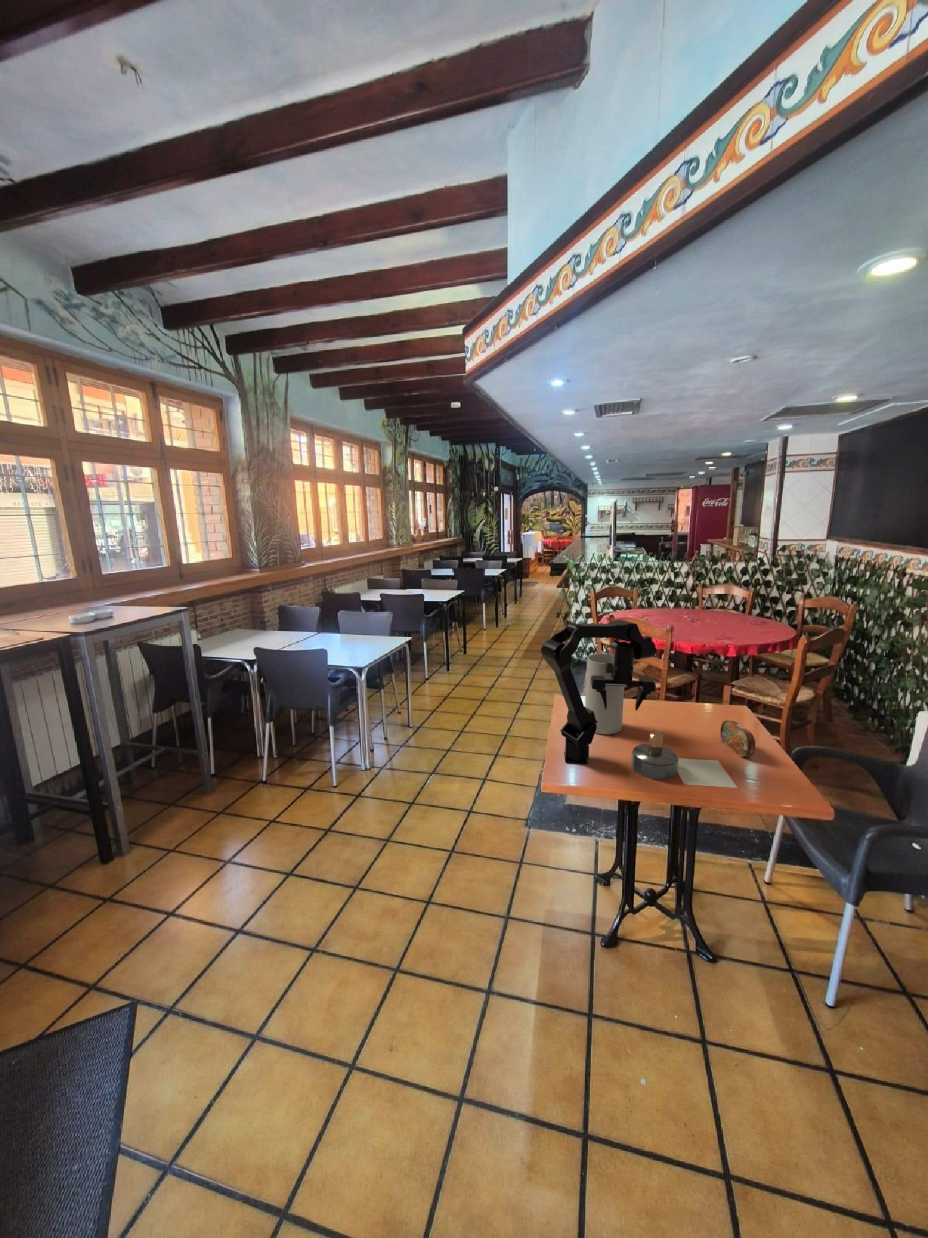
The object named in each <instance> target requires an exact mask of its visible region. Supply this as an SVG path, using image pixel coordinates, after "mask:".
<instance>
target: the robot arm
mask: <svg viewBox="0 0 928 1238" xmlns="http://www.w3.org/2000/svg"><path fill="white" fill-rule="evenodd" d="M639 628H640V627H639V626H638V624H637V623H634V622H632V621H627V620H624V619H616V620H612V621H610V622H607V623H576V622H570V623H568V624H567V625H566V626H565V627H564V628H563V629H560V631H557V632H556V633H554V634H553V635H551V636H550V638H549V639H548V640H546V641H545V642H544V643H543V644H542V647H541V648H540V652H541V655H542V657H543V659H544V661H545V662H546V664H547V665H548V666H549V667H550V668H551V670H553V672H554V675H555V677H556V680H557V682H558V683H557V684H558V685H559V688H560V691H561V694H562V696H563V699H564V702H565V705H566V708H567V714H566V719H567V720H566V722H565V724H564V725H563V726H562V727H561V729H560V733H561V736H562V737H564V738H565V743H564V745H565V746H564V752H563V753H564V754H563V755H564V762H565V764H566V763H567V764H579V765H581V764H583V765H588V760H589V759H590V758H589V757H590V756H589V755H590V745H592V743H593V740H594V738H595V734H596V733H595V731H596V729H597V724H596V723H598V721H597V720H596V719H595V714H594V712H593V711H592V710H590V709H588V708H586V707H585V705H584V702H583V699H582V696H581V694H580V691H579V688H578V685H577V682H576V679H575V676H574V673H573V671H572V664H573V656H572V655H573V654H575V652H576V651H577V650H578V648H579V644H580V642H581V641H582V639H602V638H603V639H611V638H613V639H614V640H613V642H611V643H610V644H609V645H608V647H609V648H611V649H613V650H614V653H613V655H614V666H612V663H606V668H605V672H606V673H611V677H612V678H613V680H611V679H605V678H604V676H597V675H593V676H592V677H591V681H590V684H591V687H592V689H596V692H600V694H601V696H602V699H603V703H604V707H605V709H607V697H606V689H605V686H624V687H629V688H630V687H634V688H637V693H636V699H635V706H634V707H635V711H638V710H639V708H640V707H641V705H642V703H643V701H644V700H645V698H646V697H647V696H648V695H651V693H654V692H656V691H657V684H656V681H654V679H653V678H652V677H648V676H647V677H646V676H644V677H643V676H639V678H638V680H635V679H633V673H634V662H635V660H638V661H639V660H643V659H649V658H651V659H652V658H654V657H655V656H656V654H657V647H656V643H655V642H654V641H653V637H652V636H650V635H645V636H643V635H642V633H641V631H640V629H639ZM566 641H568V642H567V643H566V644H565V643H564V642H566Z"/></svg>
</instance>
